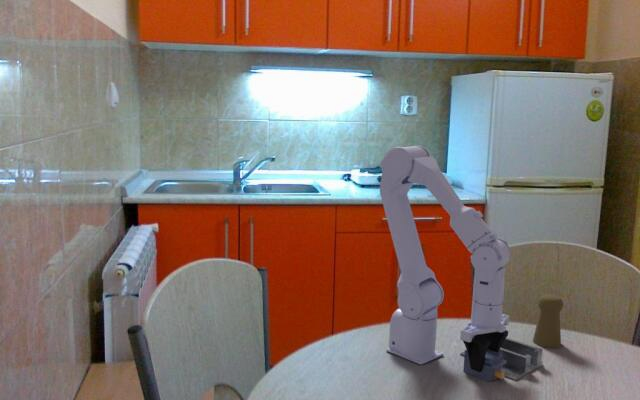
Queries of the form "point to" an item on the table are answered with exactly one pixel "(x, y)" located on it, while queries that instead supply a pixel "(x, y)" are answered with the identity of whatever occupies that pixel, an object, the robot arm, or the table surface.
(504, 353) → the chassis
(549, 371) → the table surface
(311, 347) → the table surface
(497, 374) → the blue-grey long block
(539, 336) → the cork
